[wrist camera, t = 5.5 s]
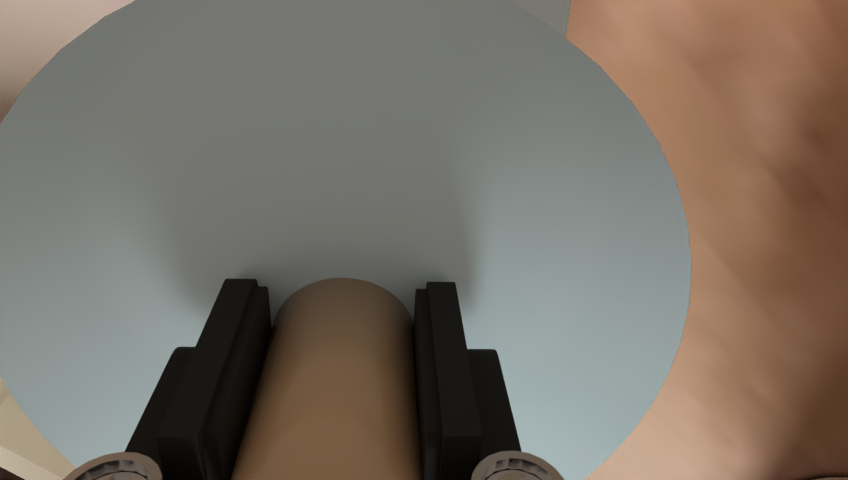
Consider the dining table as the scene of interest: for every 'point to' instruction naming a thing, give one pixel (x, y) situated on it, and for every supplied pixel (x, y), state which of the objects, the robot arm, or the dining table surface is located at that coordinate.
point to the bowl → (27, 445)
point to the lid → (336, 225)
